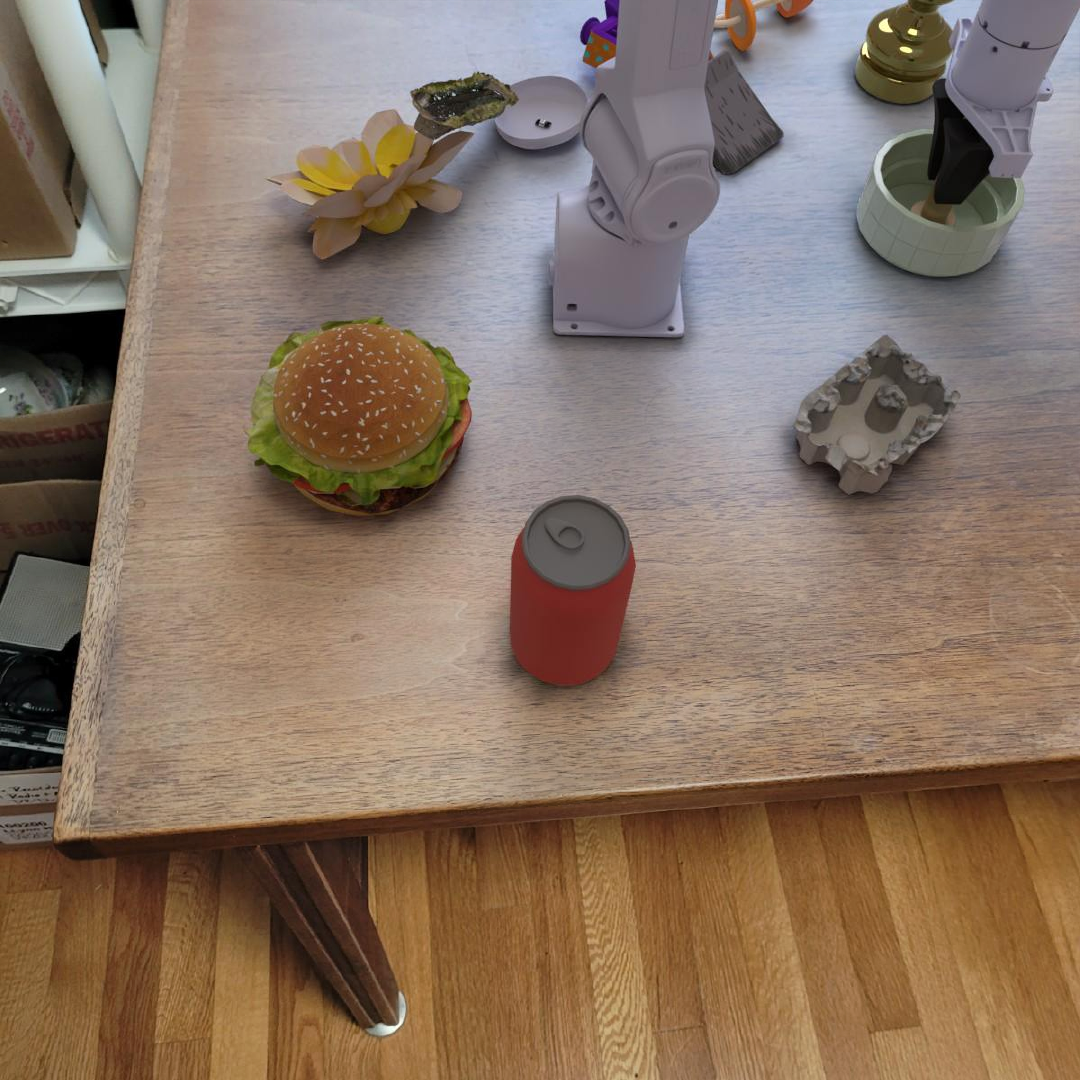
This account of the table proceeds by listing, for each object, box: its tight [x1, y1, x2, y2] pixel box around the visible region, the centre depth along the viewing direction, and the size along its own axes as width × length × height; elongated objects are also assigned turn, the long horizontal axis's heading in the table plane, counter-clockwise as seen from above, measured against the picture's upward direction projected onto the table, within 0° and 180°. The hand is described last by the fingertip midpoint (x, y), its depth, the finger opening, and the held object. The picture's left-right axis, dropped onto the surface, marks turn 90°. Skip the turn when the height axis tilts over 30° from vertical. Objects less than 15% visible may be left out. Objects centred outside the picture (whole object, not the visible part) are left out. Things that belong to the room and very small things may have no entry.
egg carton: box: [793, 333, 961, 495], centre depth 70 cm, size 11×8×4 cm
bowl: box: [855, 128, 1026, 278], centre depth 80 cm, size 11×11×5 cm
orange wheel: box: [714, 0, 815, 52], centre depth 92 cm, size 7×8×15 cm
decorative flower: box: [264, 108, 476, 260], centre depth 77 cm, size 15×11×10 cm
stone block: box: [409, 70, 519, 141], centre depth 79 cm, size 14×4×5 cm
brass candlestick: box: [854, 0, 955, 105], centre depth 87 cm, size 7×7×10 cm
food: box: [243, 315, 473, 517], centre depth 67 cm, size 14×14×8 cm
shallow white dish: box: [493, 75, 588, 150], centre depth 86 cm, size 8×8×2 cm
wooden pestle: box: [910, 116, 967, 226], centre depth 77 cm, size 4×4×11 cm
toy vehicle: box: [579, 0, 785, 175], centre depth 84 cm, size 9×21×15 cm, turn 42°
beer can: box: [509, 494, 637, 687], centre depth 58 cm, size 7×7×12 cm
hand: (944, 189), depth 79 cm, fingers closed on wooden pestle, 2 cm apart
